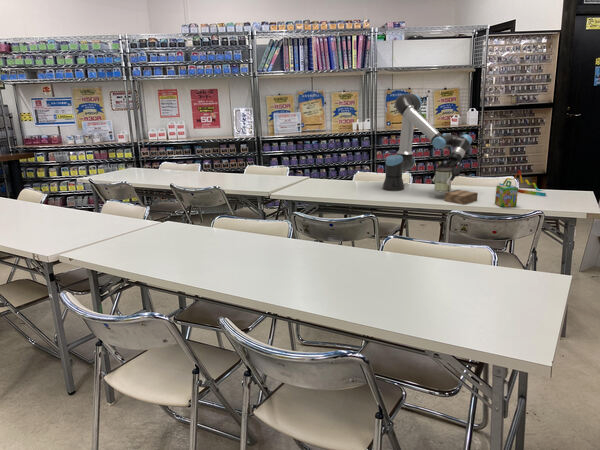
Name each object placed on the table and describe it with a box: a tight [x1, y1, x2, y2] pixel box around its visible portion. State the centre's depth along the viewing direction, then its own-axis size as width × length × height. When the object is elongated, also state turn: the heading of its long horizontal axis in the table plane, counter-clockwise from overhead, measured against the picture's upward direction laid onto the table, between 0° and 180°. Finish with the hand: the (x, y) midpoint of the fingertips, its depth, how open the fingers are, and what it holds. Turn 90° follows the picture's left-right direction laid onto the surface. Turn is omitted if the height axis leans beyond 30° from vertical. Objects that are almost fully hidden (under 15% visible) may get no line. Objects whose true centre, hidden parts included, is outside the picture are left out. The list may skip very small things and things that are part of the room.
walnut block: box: [444, 189, 479, 205], centre depth 292 cm, size 14×14×5 cm
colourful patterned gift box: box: [494, 180, 519, 208], centre depth 277 cm, size 9×9×15 cm
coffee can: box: [433, 167, 453, 193], centre depth 300 cm, size 10×10×14 cm
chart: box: [498, 169, 547, 197], centre depth 307 cm, size 30×3×15 cm, turn 39°
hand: (440, 182), depth 299 cm, fingers closed on coffee can, 10 cm apart
